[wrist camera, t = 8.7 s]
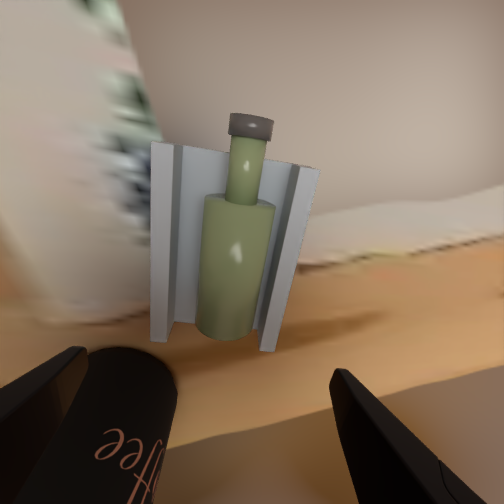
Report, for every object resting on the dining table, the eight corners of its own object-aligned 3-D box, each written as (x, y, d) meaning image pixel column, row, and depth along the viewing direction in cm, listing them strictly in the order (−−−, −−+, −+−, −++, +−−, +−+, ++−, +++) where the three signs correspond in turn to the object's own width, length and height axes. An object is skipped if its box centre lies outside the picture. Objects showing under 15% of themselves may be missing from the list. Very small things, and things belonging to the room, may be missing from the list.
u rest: (271, 325, 23) (276, 352, 20) (160, 314, 22) (147, 341, 19) (309, 166, 18) (323, 170, 15) (163, 141, 16) (147, 140, 13)
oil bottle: (243, 300, 21) (262, 336, 18) (191, 304, 20) (199, 344, 16) (272, 126, 16) (307, 124, 12) (205, 112, 15) (221, 105, 11)
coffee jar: (184, 416, 27) (100, 836, 11) (83, 419, 27) (-173, 871, 10) (175, 340, 23) (16, 835, 6) (55, 342, 22) (-460, 893, 6)
